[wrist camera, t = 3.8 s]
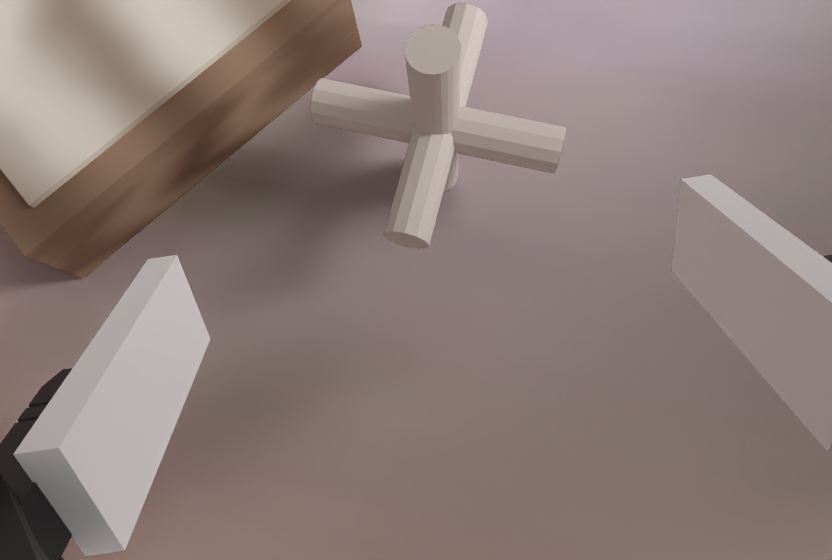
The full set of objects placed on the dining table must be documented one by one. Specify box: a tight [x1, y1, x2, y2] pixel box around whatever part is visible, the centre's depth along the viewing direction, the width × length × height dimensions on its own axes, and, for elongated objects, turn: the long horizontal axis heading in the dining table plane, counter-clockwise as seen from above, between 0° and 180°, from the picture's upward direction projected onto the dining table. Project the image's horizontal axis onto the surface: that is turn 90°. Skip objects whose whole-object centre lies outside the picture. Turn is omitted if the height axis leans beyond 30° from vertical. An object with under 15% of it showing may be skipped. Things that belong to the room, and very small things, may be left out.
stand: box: [0, 0, 362, 278], centre depth 29 cm, size 18×18×4 cm
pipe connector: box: [311, 3, 566, 249], centre depth 24 cm, size 10×10×10 cm
